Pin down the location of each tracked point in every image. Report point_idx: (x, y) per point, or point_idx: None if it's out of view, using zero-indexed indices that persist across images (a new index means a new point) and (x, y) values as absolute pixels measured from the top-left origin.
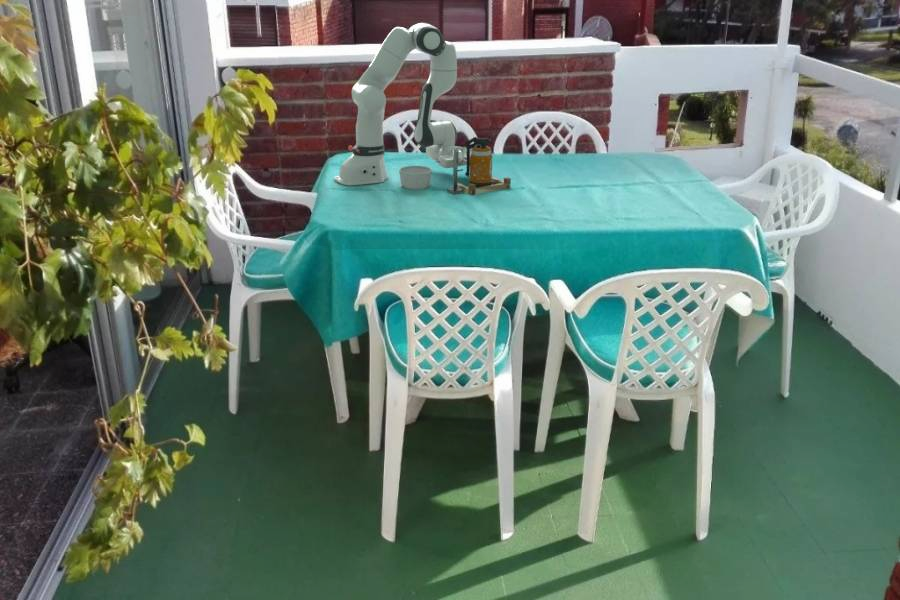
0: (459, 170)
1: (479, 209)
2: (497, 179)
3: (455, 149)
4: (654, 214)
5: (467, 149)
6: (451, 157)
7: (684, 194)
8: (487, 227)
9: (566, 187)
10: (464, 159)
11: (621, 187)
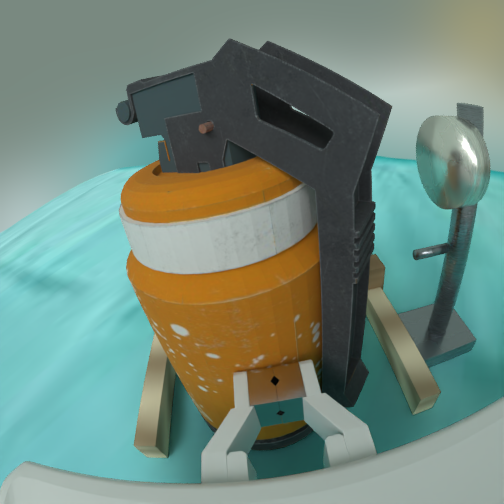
0: (435, 246)
1: (379, 206)
2: (155, 376)
3: (469, 104)
4: (123, 185)
5: (365, 171)
6: (502, 471)
7: (23, 228)
8: (384, 165)
9: (55, 283)
10: (332, 444)
11: (15, 260)
